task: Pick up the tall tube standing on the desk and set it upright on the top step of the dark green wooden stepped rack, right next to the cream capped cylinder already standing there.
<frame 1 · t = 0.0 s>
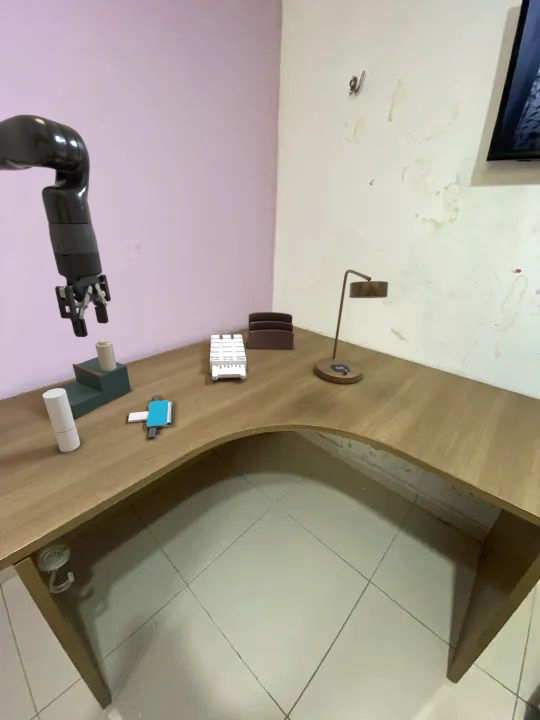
hand: (93, 329, 66), 29 cm above the table, tool pointing down, fingers open, 8 cm apart
organizer: (227, 362, 122), on the table
lamp: (342, 379, 113), on the table
cream capped cylinder: (108, 368, 94), point 9 cm above the table, touching rack
letter holder: (270, 345, 140), on the table
tube: (70, 446, 76), on the table
rack: (91, 397, 95), on the table
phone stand: (152, 417, 88), on the table
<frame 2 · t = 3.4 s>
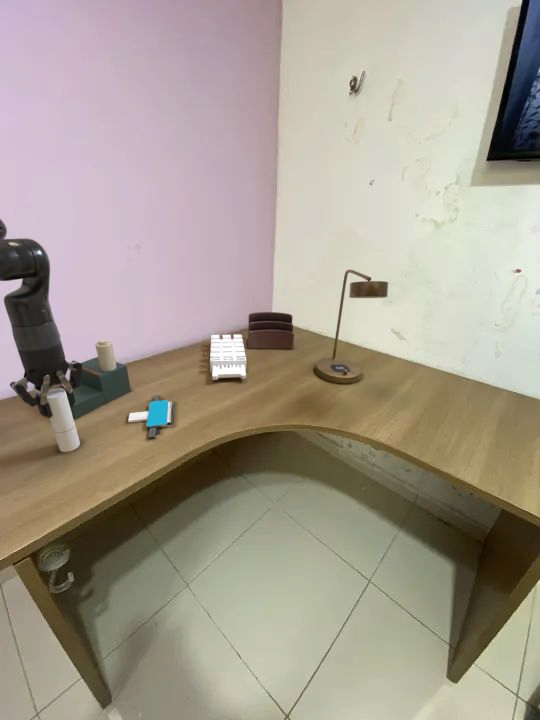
hand: (59, 410, 71), 10 cm above the table, tool pointing down, fingers closed on tube, 4 cm apart
tube: (70, 446, 76), on the table, touching gripper
everything else where it was.
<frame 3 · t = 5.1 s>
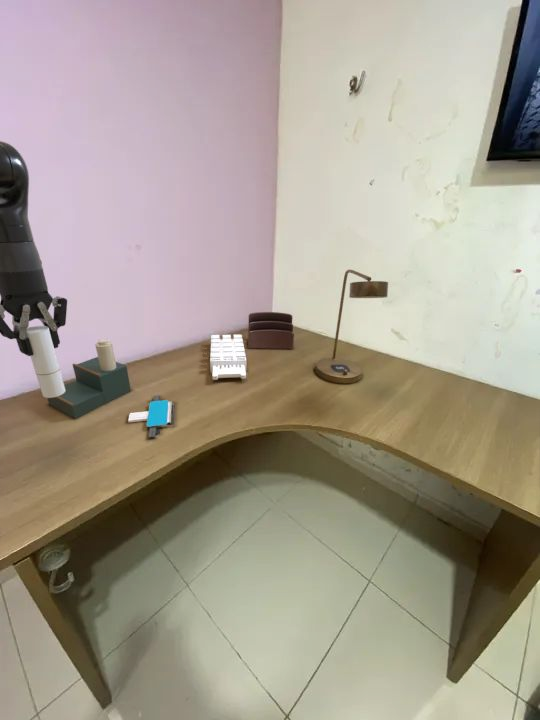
hand: (41, 350, 65), 25 cm above the table, tool pointing down, fingers closed on tube, 4 cm apart
tube: (54, 393, 69), point 15 cm above the table, touching gripper
everything else where it was.
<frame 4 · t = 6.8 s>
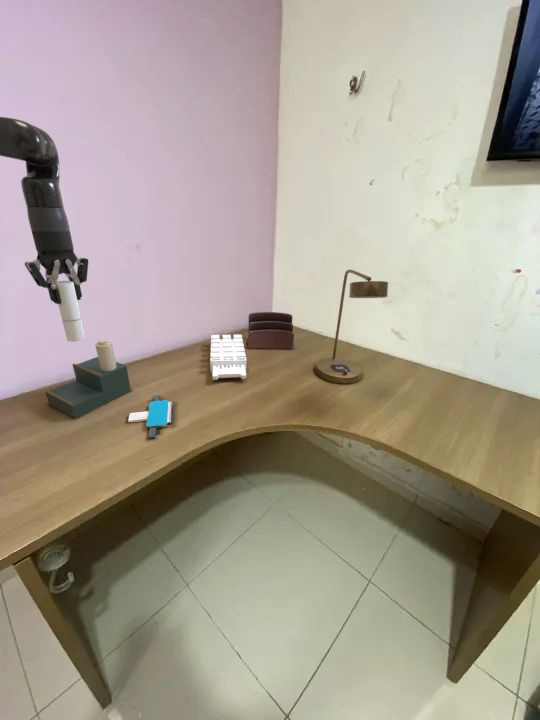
hand: (67, 301, 79), 31 cm above the table, tool pointing down, fingers closed on tube, 4 cm apart
tube: (76, 339, 83), point 21 cm above the table, touching gripper
everything else where it was.
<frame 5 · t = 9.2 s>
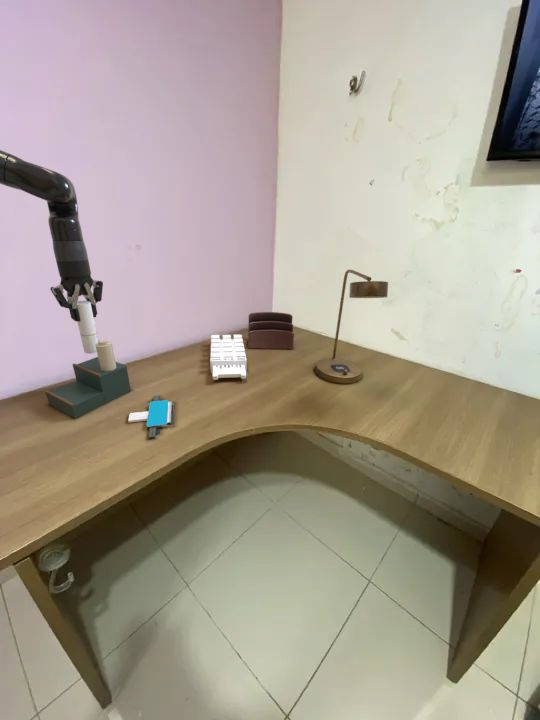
hand: (85, 318, 90), 23 cm above the table, tool pointing down, fingers closed on tube, 4 cm apart
tube: (92, 351, 95), point 13 cm above the table, touching gripper
everything else where it was.
when the fingers open (19 cm above the table, at t = 10.6 s): tube stays where it is, resting on rack.
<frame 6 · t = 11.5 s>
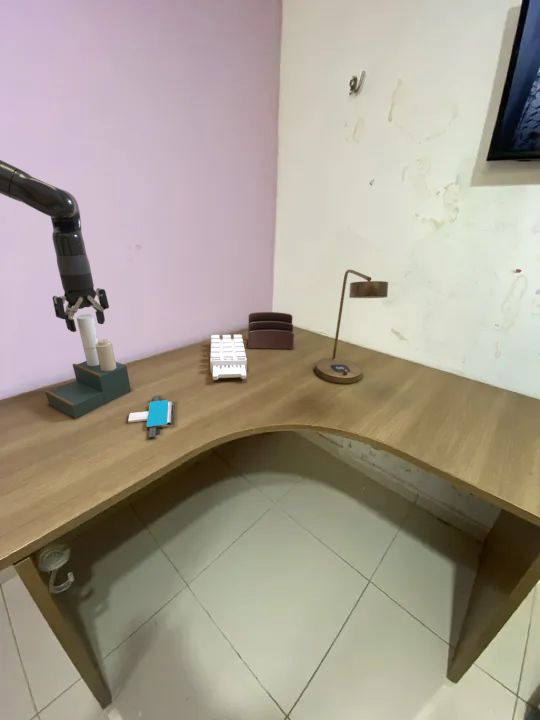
hand: (87, 327, 92), 21 cm above the table, tool pointing down, fingers open, 8 cm apart
tube: (95, 363, 97), point 9 cm above the table, touching rack
everything else where it was.
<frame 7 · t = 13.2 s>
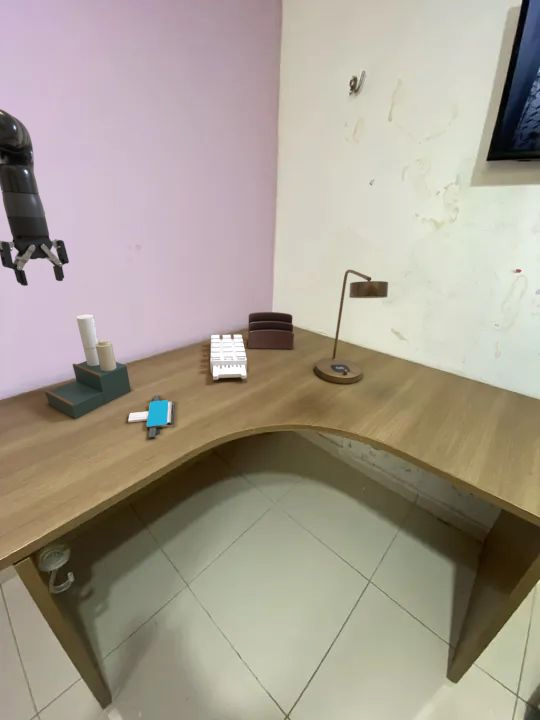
hand: (42, 282, 81), 35 cm above the table, tool pointing down, fingers open, 8 cm apart
nothing on the table moved.
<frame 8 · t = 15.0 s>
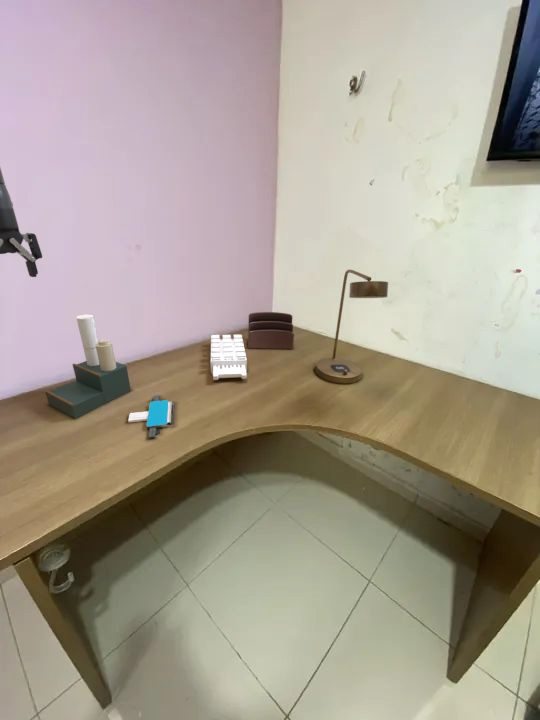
hand: (14, 279, 77), 36 cm above the table, tool pointing down, fingers open, 8 cm apart
nothing on the table moved.
at the end: tube inside the target area on the rack (0.2 cm from its centre), point 8.8 cm above the rack's base; tube tilted 0°; tube 6.5 cm from the cream capped cylinder (horizontally) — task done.
